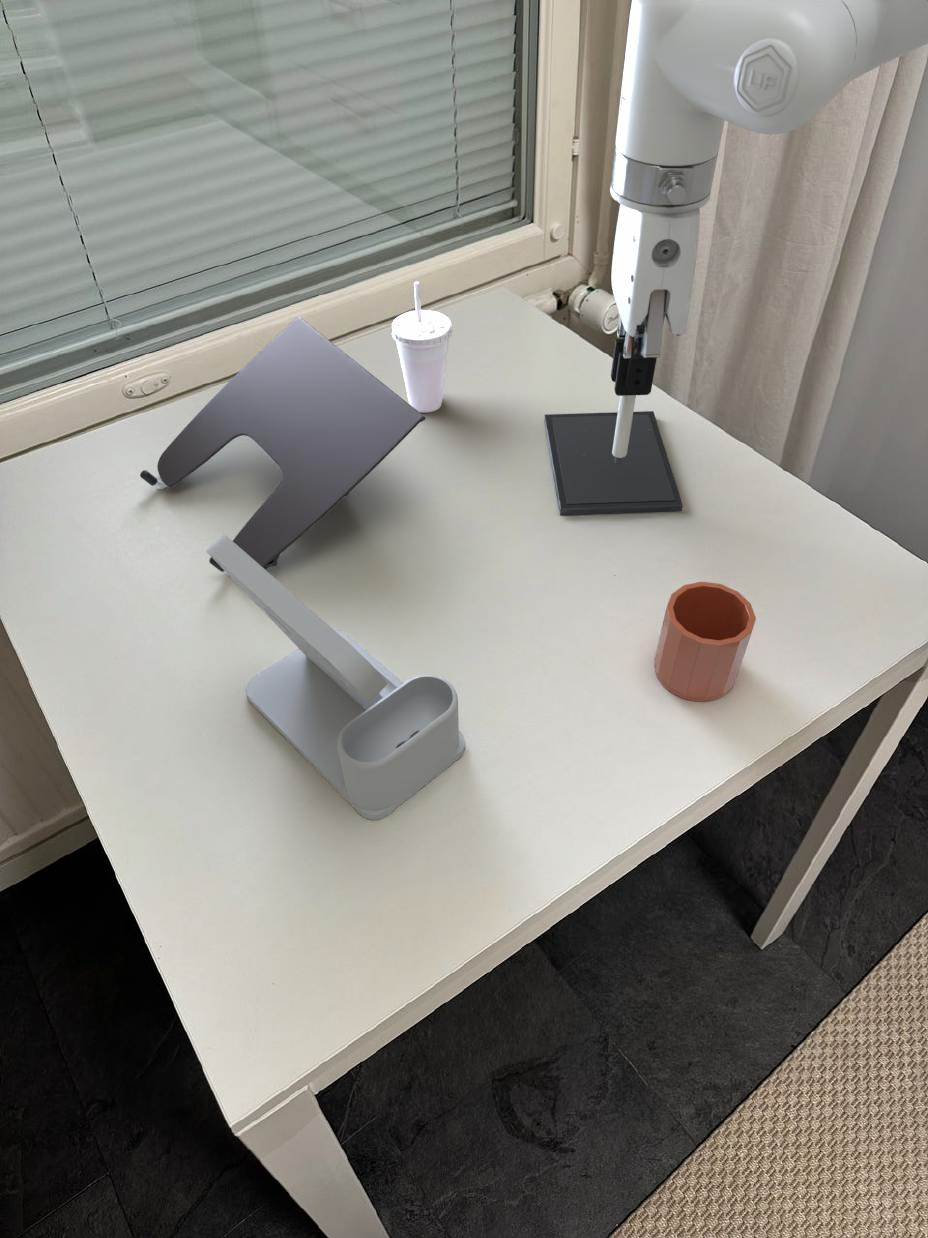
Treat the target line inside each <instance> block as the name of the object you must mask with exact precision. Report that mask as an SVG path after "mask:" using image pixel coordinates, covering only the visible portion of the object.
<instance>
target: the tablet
mask: <svg viewBox="0 0 928 1238" xmlns="http://www.w3.org/2000/svg"><path fill="white" fill-rule="evenodd" d="M617 415H618V411H617V412H616V411H613V412H612V411H611V412H581V413H579V412H578V413H551V414H549V413H547V414H544V416H543V422H544V428H545V434H546V441H547V446H548V452H549V457H550V458H549V459H550V464H551V471H552V475H553V477H552V478H553V482H554V488H555V494H556V500H557V506H558V511H559V512H558V513H559V516H578V515H579V516H580V515H581V516H582V515H605V514H606V515H609V514H612V515H613V514H614V515H615V514H642V513H644V514H645V513H671V512H672V513H673V512H674V513H675V512H682V511H683V508H684V503H683V500H682V497H681V495H680V492H679V488H678V484H677V482H676V478H675V476H674V473H673V469H672V465H671V463H670V459H669V456H668V452H667V450H666V447H665V443H664V440H663V437H662V434H661V431H660V427H659V424H658V422H657V421H658V420H657V417H656V415H655V412H654V410H650V411H649V410H646V411H633V418H632V424H631V430H630V437H629V443H628V449H627V455H626V456H625V457H622V463H620V464H616V463H615V456H614V455H613V454H612V450H613V443H614V436H615V429H616V422H617Z"/></svg>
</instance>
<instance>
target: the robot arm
mask: <svg viewBox="0 0 928 1238" xmlns="http://www.w3.org/2000/svg"><path fill="white" fill-rule="evenodd" d="M628 19H629V20H628V28H627V34H626V35H627V36H626V46H625V55H624V63H623V72H622V80H621V89H620V98H619V107H618V115H617V117H618V118H617V126H616V134H615V144H614V154H613V162H612V170H611V180H610V187H609V193H610V196H611V198H612V199H613V200H614V201H616V202H617V203H618V204H619V209H618V215H617V221H616V229H615V235H614V244H613V251H612V252H613V253H612V262H611V279H610V280H611V288H612V294H613V297H614V300H615V304H616V308H617V311H618V319H617V329H616V336H617V338H618V339H617V338H616V339H614V340H615V341H614V348H613V355H612V363H611V371H610V378H611V381H612V382H613V383H614V389H613V390H614V394H615V395H616V396H618V397H620V396H628V395H636V396H648V395H650V394H651V392H652V389H653V382H654V377H655V372H656V371H655V370H656V365H657V359H658V358H660V357H661V352H662V341H663V330H664V324H665V323H664V322H665V318H666V321H667V324H668V326H669V330H670V332H671V334H672V335H673V336H674V335H675V336H677V337H681V336H683V335H684V333H685V332H686V330H687V326H688V321H689V313H690V307H691V300H692V294H693V287H694V281H695V274H696V273H695V272H696V266H697V258H698V248H699V237H700V236H699V235H700V224H701V223H700V222H701V221H700V220H701V219H700V218H701V209H700V208H702V207H705V205H707V204H708V202H709V201H710V197H711V193H712V187H713V182H714V178H715V177H714V176H715V171H716V166H717V161H718V156H719V151H720V146H721V142H722V138H723V137H722V135H723V131H724V127H725V122H728V123H730V124H732V125H734V126H737V127H739V128H741V129H743V130H747V131H749V132H754V133H758V134H764V135H779V134H786V133H790V132H792V131H795V130H797V129H800V128H801V127H803V126H804V125H806V124H807V123H809V122H810V121H812V120H813V119H814V118H815V117H816V116H817V115H818V114H819V113H820V112H821V111H822V110H824V109H825V107H826V106H827V105H828V104H829V103H830V102H831V101H832V100H833V99H834V98H835V97H836V96H838V94H839V93H840V92H841V91H842V90H843V89H844V88H845V87H846V86H847V85H848V84H850V83H851V82H853V81H854V80H855V79H857V78H859V77H861V76H863V75H865V74H867V73H869V72H871V71H873V70H875V69H876V68H879V67H881V66H883V65H885V64H887V63H889V62H892V61H893V60H896V59H898V58H900V57H902V56H904V55H906V54H909V53H911V52H913V51H915V50H918V49H919V48H921V47H924V46H926V45H928V0H631V5H630V12H629V18H628ZM635 334H644V337H637V338H636V339H635ZM634 339H635V340H634Z"/></svg>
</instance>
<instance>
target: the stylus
mask: <svg viewBox="0 0 928 1238" xmlns="http://www.w3.org/2000/svg"><path fill="white" fill-rule="evenodd" d="M637 337H644V334H635V339H636V338H637ZM635 339H634V340H635ZM636 398H637V395H628V396H619V400H618V401H619V402H618V409H617V412H618V415H617V422H616V429H615V436H614V443H613V450H612V454H613V455H614V456H615V463H616V464H620V463H622V457H625V456H626V455H627V449H628V443H629V437H630V430H631V424H632V418H633V412H635V404H636Z"/></svg>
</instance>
